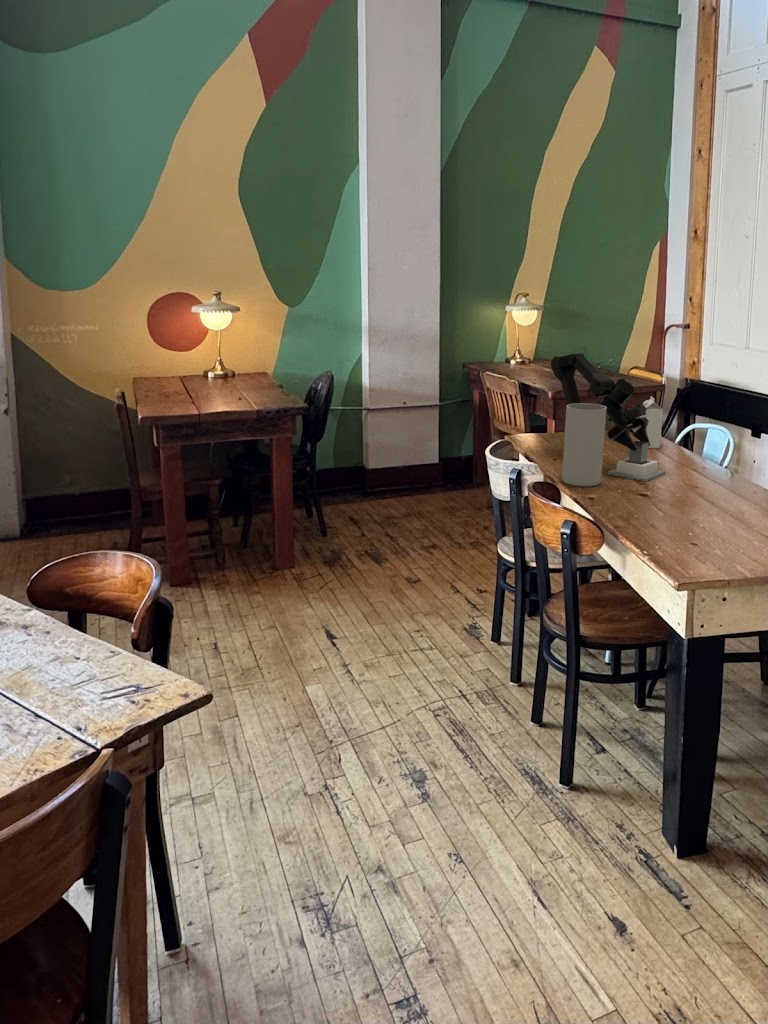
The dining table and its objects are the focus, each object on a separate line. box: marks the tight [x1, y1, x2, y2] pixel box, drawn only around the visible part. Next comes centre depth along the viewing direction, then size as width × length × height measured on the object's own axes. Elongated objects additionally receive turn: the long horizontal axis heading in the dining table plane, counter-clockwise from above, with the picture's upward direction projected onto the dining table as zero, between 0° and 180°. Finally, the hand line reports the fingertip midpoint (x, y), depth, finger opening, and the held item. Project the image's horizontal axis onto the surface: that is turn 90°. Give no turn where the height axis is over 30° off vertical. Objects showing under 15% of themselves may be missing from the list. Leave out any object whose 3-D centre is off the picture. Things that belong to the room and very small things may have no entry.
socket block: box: [607, 457, 666, 482], centre depth 299 cm, size 14×14×4 cm
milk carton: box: [637, 395, 664, 449], centre depth 338 cm, size 7×7×19 cm
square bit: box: [628, 440, 649, 465], centre depth 298 cm, size 4×4×10 cm
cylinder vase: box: [561, 402, 607, 488], centre depth 286 cm, size 12×12×25 cm
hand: (642, 448), depth 296 cm, fingers open, 9 cm apart
